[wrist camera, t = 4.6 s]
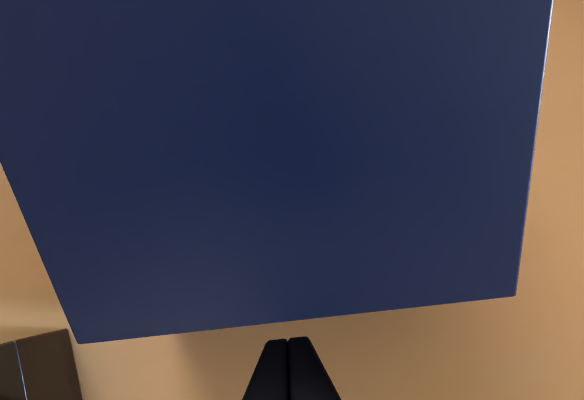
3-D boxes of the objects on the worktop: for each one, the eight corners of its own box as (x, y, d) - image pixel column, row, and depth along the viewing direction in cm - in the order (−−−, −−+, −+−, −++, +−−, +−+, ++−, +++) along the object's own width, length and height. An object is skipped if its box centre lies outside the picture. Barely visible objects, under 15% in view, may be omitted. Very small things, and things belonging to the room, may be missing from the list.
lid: (-152, -264, 8) (-193, -286, 7) (577, -366, 8) (607, -399, 7) (86, 326, 14) (76, 345, 13) (504, 280, 14) (516, 297, 13)
